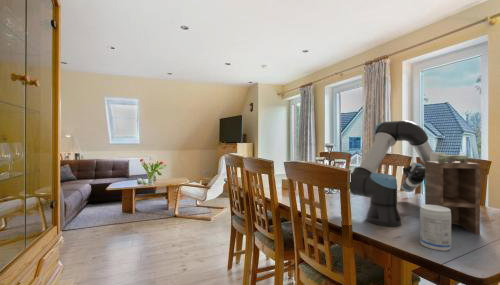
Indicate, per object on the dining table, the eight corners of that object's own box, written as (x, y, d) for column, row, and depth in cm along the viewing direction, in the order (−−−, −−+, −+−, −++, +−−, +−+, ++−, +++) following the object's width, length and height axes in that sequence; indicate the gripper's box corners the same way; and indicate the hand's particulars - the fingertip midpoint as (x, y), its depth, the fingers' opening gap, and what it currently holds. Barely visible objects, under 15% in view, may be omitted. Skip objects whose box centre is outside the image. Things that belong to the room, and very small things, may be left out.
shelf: (439, 231, 109) (438, 155, 109) (425, 221, 123) (425, 154, 123) (479, 234, 105) (479, 156, 105) (460, 223, 119) (460, 154, 119)
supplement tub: (422, 239, 101) (422, 203, 101) (452, 245, 94) (452, 207, 94) (417, 246, 94) (417, 207, 94) (450, 254, 87) (449, 212, 87)
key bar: (447, 161, 112) (447, 153, 113) (429, 160, 129) (429, 152, 130) (457, 162, 112) (457, 153, 112) (438, 160, 128) (438, 152, 129)
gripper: (439, 185, 149) (456, 171, 131) (393, 184, 155) (404, 170, 137) (436, 174, 152) (453, 158, 135) (391, 173, 158) (401, 158, 141)
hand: (428, 164), depth 136 cm, fingers open, 13 cm apart
